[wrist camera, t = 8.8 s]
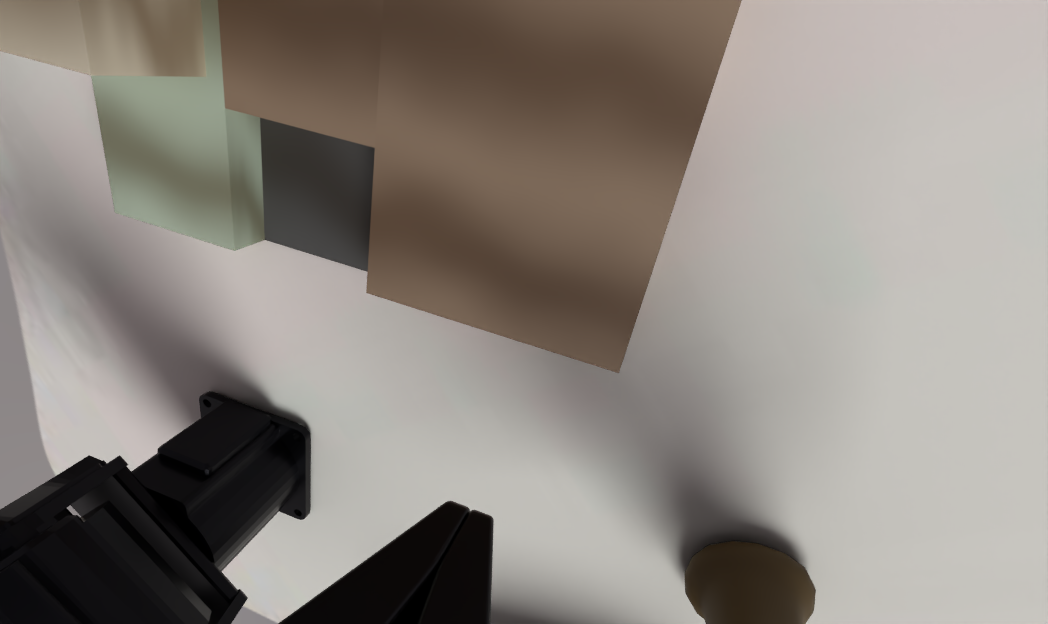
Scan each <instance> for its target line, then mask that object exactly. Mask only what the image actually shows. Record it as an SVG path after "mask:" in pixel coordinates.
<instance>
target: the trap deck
mask: <svg viewBox="0 0 1048 624" xmlns="http://www.w3.org/2000/svg"><path fill="white" fill-rule="evenodd" d="M741 1H742V0H201V13H202V25H203V38H204V51H205V64H206V77H174V76H91V78H92V83H93V89H94V95H95V101H96V106H97V112H98V118H99V124H100V129H101V135H102V141H103V147H104V153H105V158H106V164H107V170H108V176H109V181H110V187H111V193H112V199H113V204H114V210H115V213H117V214H120V215H124V216H127V217H130V218H133V219H136V220H139V221H142V222H146V223H149V224H152V225H155V226H158V227H161V228H164V229H168V230H171V231H174V232H177V233H180V234H183V235H186V236H190V237H193V238H196V239H199V240H202V241H205V242H208V243H212V244H215V245H218V246H221V247H224V248H227V249H230V250H234V251H236V250H238V249H241V248H244V247H246V246H249V245H252V244H254V243H257V242H260V241H262V240H267V241H271V242H274V243H277V244H280V245H284V246H287V247H290V248H293V249H296V250H300V251H303V252H306V253H309V254H313V255H316V256H319V257H322V258H325V259H329V260H332V261H335V262H338V263H342V264H345V265H348V266H351V267H355V268H358V269H361V270H364V271H367V272H368V275H367V292H366V293H369V294H372V295H375V296H378V297H381V298H384V299H388V300H391V301H394V302H397V303H400V304H403V305H406V306H410V307H413V308H416V309H419V310H422V311H425V312H428V313H432V314H435V315H438V316H441V317H444V318H447V319H450V320H454V321H457V322H460V323H463V324H466V325H469V326H472V327H476V328H479V329H482V330H485V331H488V332H491V333H494V334H497V335H501V336H504V337H507V338H510V339H513V340H516V341H519V342H523V343H526V344H529V345H532V346H535V347H538V348H541V349H545V350H548V351H551V352H554V353H557V354H560V355H563V356H567V357H570V358H573V359H576V360H579V361H582V362H585V363H589V364H592V365H595V366H598V367H601V368H604V369H607V370H611V371H614V372H617V373H619V371H620V368H621V365H622V362H623V359H624V355H625V352H626V349H627V346H628V343H629V340H630V337H631V334H632V331H633V328H634V325H635V322H636V319H637V316H638V313H639V310H640V307H641V304H642V301H643V298H644V295H645V292H646V289H647V286H648V283H649V280H650V277H651V274H652V271H653V268H654V265H655V262H656V258H657V255H658V252H659V249H660V246H661V243H662V240H663V237H664V234H665V231H666V228H667V225H668V222H669V219H670V216H671V213H672V210H673V207H674V204H675V201H676V198H677V195H678V192H679V189H680V186H681V183H682V180H683V177H684V174H685V171H686V168H687V164H688V161H689V158H690V155H691V152H692V149H693V146H694V143H695V140H696V137H697V134H698V131H699V128H700V125H701V122H702V119H703V116H704V113H705V110H706V107H707V104H708V101H709V98H710V95H711V92H712V89H713V86H714V83H715V80H716V77H717V74H718V70H719V67H720V64H721V61H722V58H723V55H724V52H725V49H726V46H727V43H728V40H729V37H730V34H731V31H732V28H733V25H734V22H735V19H736V16H737V13H738V10H739V7H740V4H741Z"/></svg>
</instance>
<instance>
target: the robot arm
mask: <svg viewBox="0 0 1048 624" xmlns="http://www.w3.org/2000/svg"><path fill="white" fill-rule="evenodd" d="M199 403H200V411H201V419H199V420H198V421H196V422H195V423H193V424H192V425H191V426H189V427H188V428H186V429H185V430H183V431H182V432H180V433H179V434H177V435H176V436H175V437H173V438H172V439H170V440H169V441H167V442H166V443H164V444H163V445H162V446H160V447H159V448H158V453H157V454H156V455H154V456H153V457H152V458H150V459H149V460H147V461H146V462H144V463H143V464H142V465H140V466H139V467H137V468H136V469H134V470H133V471H132V472H131V471H130V470H129V469H128V468H127V467H126V466H127V465H128V464H127V463H126V462H125V460H124V459H123V458H122V457H121V456H118V457H116V458H115V459H113V460H112V461H110V462H109V463H106V462H105V461H104V460H103V461H101V460H99V459H97V458H94V457H92V456H87V457H86V458H84V459H83V460H81V461H79V462H78V463H76V464H74V465H73V466H71V467H70V468H68V469H66V470H65V471H63V472H62V473H60V474H58V475H57V476H55V477H54V478H52V479H50V480H49V481H47V482H45V483H44V484H42V485H40V486H39V487H37V488H36V489H34V490H32V491H31V492H29V493H27V494H25V495H24V496H22V497H20V498H19V499H17V500H15V501H14V502H12V503H10V504H9V505H7V506H5V507H4V508H2V509H1V510H0V624H231V623H232V621H233V620H234V618H235V617H236V615H237V614H238V612H239V611H240V609H241V608H242V606H243V605H244V603H245V602H246V600H247V596H246V595H245V594H244V593H243V592H242V591H241V590H240V589H239V590H237V589H236V588H235V587H234V585H233V584H232V583H231V582H230V581H229V580H228V579H227V578H226V577H225V575H224V574H223V573H222V572H221V571H222V570H223V569H224V568H225V567H226V566H227V565H228V564H229V563H230V562H231V561H232V560H233V559H234V558H235V557H236V556H237V555H238V554H239V552H240V551H241V550H242V549H243V548H244V547H245V546H246V545H247V544H248V543H249V542H250V541H251V540H252V539H253V538H254V537H255V536H256V535H257V534H258V533H259V531H260V530H261V529H262V528H263V527H264V526H265V525H266V524H267V523H268V522H269V521H270V520H271V519H272V518H273V517H274V516H275V515H276V514H277V513H278V512H279V511H280V512H282V513H285V514H287V515H290V516H292V517H294V518H297V519H300V520H303V519H305V518H306V517H307V515H308V514H309V513H310V465H311V436H310V432H309V431H308V429H307V428H306V427H304V426H302V425H299V424H297V423H294V422H291V421H289V420H286V419H283V418H281V417H278V416H275V415H273V414H270V413H267V412H265V411H262V410H259V409H257V408H254V407H251V406H249V405H246V404H243V403H241V402H238V401H236V400H233V399H230V398H228V397H225V396H222V395H220V394H217V393H214V392H211V391H209V392H206V393H205V394H203V395H202V396H200V398H199ZM69 505H71V506H72V507H73V508H74V509H75V510H76V511H77V512H78V513H79V515H80V516H81V517H79V516H77V515H72V513H71V512H70V511H69V510H68V509H67V507H68V506H69ZM492 554H493V518H492V516H490V515H487V514H485V513H482V512H479V511H477V510H472V511H470V509H469V508H468V507H466V506H464V505H461V504H458V503H456V502H453V501H447V502H445V503H444V504H443V505H441V506H440V507H438V508H437V509H436V510H434V511H433V512H431V513H430V514H429V515H427V516H426V517H425V518H423V519H422V520H420V521H419V522H418V523H416V524H415V525H414V526H412V527H411V528H409V529H408V530H407V531H405V532H404V533H403V534H401V535H400V536H398V537H397V538H396V539H394V540H393V541H391V542H390V543H389V544H387V545H386V546H385V547H383V548H382V549H380V550H379V551H378V552H376V553H375V554H374V555H372V556H371V557H369V558H368V559H367V560H365V561H364V562H363V563H361V564H360V565H358V566H357V567H356V568H354V569H353V570H351V571H350V572H349V573H347V574H346V575H345V576H343V577H342V578H340V579H339V580H338V581H336V582H335V583H334V584H332V585H331V586H329V587H328V588H327V589H325V590H324V591H323V592H321V593H320V594H318V595H317V596H316V597H314V598H313V599H311V600H310V601H309V602H307V603H306V604H305V605H303V606H302V607H300V608H299V609H298V610H296V611H295V612H294V613H292V614H291V615H289V616H288V617H287V618H285V619H284V620H282V621H281V622H280V623H278V624H490V616H491V585H492Z"/></svg>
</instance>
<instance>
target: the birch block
mask: <svg viewBox="0 0 1048 624" xmlns="http://www.w3.org/2000/svg"><path fill="white" fill-rule="evenodd" d="M0 51H2V52H6V53H10V54H14V55H17V56H21V57H25V58H28V59H32V60H36V61H40V62H43V63H47V64H51V65H54V66H58V67H62V68H65V69H69V70H73V71H77V72H80V73H84V74H88V75H91V76H174V77H206V64H205V51H204V38H203V25H202V13H201V0H0Z"/></svg>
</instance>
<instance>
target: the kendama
mask: <svg viewBox="0 0 1048 624" xmlns="http://www.w3.org/2000/svg"><path fill="white" fill-rule="evenodd" d="M815 592H816V590H815V587H814V585H813V583H812V581H811V579H810V577H809V575H808V573H807V571H806V569H805V567H804V566H802V565H801V564H799V563H798V562H796V561H795V560H794V559H792V558H791V557H789V556H788V555H786V554H785V553H783V552H780V551H777V550H774V549H771V548H769V547H766V546H763V545H760V544H758V543H749V542H738V541H730V542H724V543H718V544H713V545H708V546H706V547H705V548H704V549H702V550H701V551H699V552H698V553H697V554H695V555H694V556H693V557H692V559H691V561H690V563H689V565H688V567H687V569H686V571H685V593H686V595H687V597H688V599H689V600H690V602H691V604H692V605H693V607H694V609H695V611H696V612H697V614H699V615H700V616H701V617H702V618H704V619H705V622H706V624H805V623H806V622H807V620H808V619H809V617H810V616H811V615H812V613H813V611H814V604H815Z"/></svg>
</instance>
